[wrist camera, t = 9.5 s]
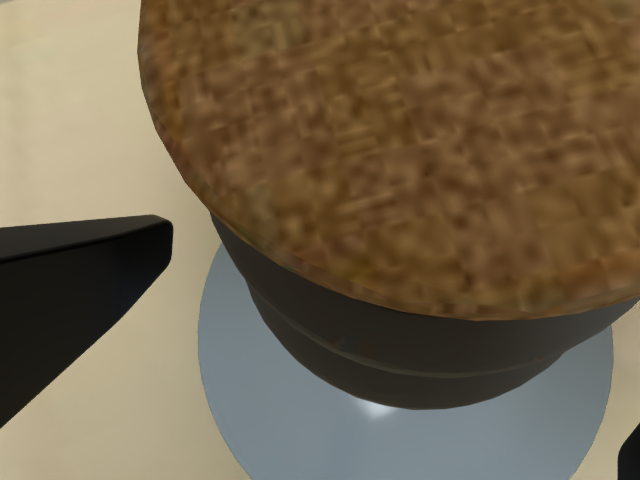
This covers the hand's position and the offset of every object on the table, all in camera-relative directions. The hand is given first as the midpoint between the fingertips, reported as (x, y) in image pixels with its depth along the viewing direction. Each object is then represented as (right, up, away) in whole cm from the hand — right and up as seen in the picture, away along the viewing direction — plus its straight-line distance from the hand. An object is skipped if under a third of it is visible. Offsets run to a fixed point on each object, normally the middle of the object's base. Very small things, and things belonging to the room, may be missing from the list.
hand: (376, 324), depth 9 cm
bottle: (+2, -1, +9) cm, 9 cm away
